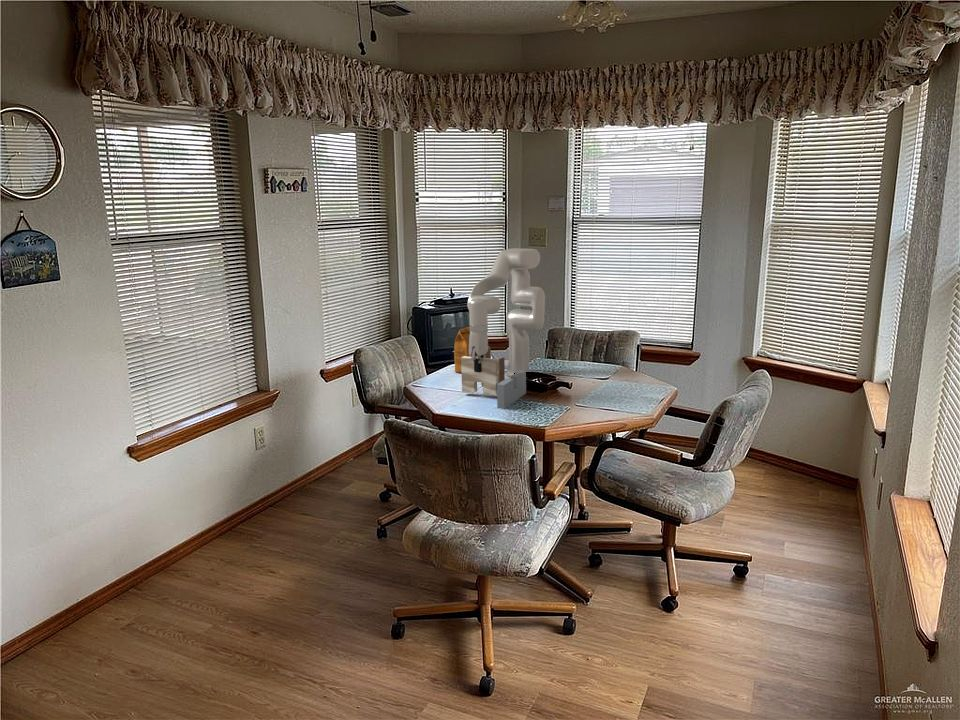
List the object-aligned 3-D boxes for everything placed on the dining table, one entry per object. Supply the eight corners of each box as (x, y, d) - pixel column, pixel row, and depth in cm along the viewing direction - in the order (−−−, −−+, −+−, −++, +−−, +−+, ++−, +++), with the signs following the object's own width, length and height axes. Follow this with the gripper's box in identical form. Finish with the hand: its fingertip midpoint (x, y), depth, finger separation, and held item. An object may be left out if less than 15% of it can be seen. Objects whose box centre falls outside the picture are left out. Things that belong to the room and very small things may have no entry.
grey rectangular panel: (519, 392, 293) (519, 370, 291) (526, 393, 292) (526, 371, 289) (497, 408, 272) (497, 384, 270) (504, 409, 271) (503, 385, 268)
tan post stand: (500, 389, 298) (499, 350, 294) (481, 386, 304) (480, 347, 300) (505, 387, 301) (504, 348, 297) (486, 384, 307) (485, 345, 303)
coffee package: (483, 370, 332) (482, 326, 327) (467, 375, 323) (466, 330, 318) (468, 367, 338) (467, 324, 333) (451, 372, 329) (450, 328, 324)
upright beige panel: (465, 389, 293) (464, 356, 289) (498, 393, 286) (498, 359, 282) (462, 391, 290) (461, 357, 287) (495, 395, 284) (495, 360, 280)
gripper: (478, 324, 290) (480, 365, 295) (461, 331, 276) (463, 374, 280) (494, 325, 287) (495, 367, 291) (478, 332, 273) (479, 376, 277)
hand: (479, 370), depth 286 cm, fingers closed on upright beige panel, 3 cm apart
